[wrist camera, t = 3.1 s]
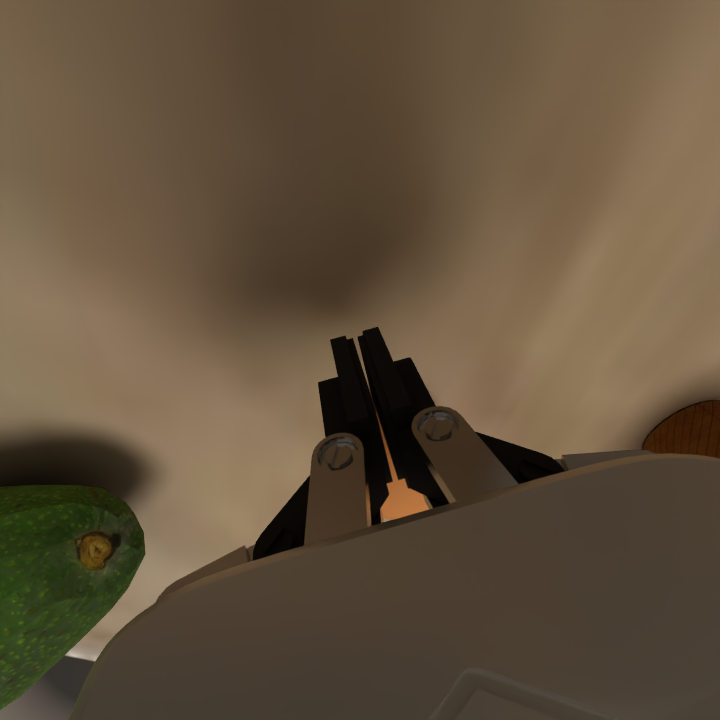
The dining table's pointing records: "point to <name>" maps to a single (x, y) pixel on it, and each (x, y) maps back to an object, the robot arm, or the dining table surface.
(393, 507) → the ball
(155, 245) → the dining table surface
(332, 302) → the dining table surface
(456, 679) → the robot arm
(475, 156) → the dining table surface
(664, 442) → the disposable coffee cup
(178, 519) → the dining table surface
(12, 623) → the fruit
